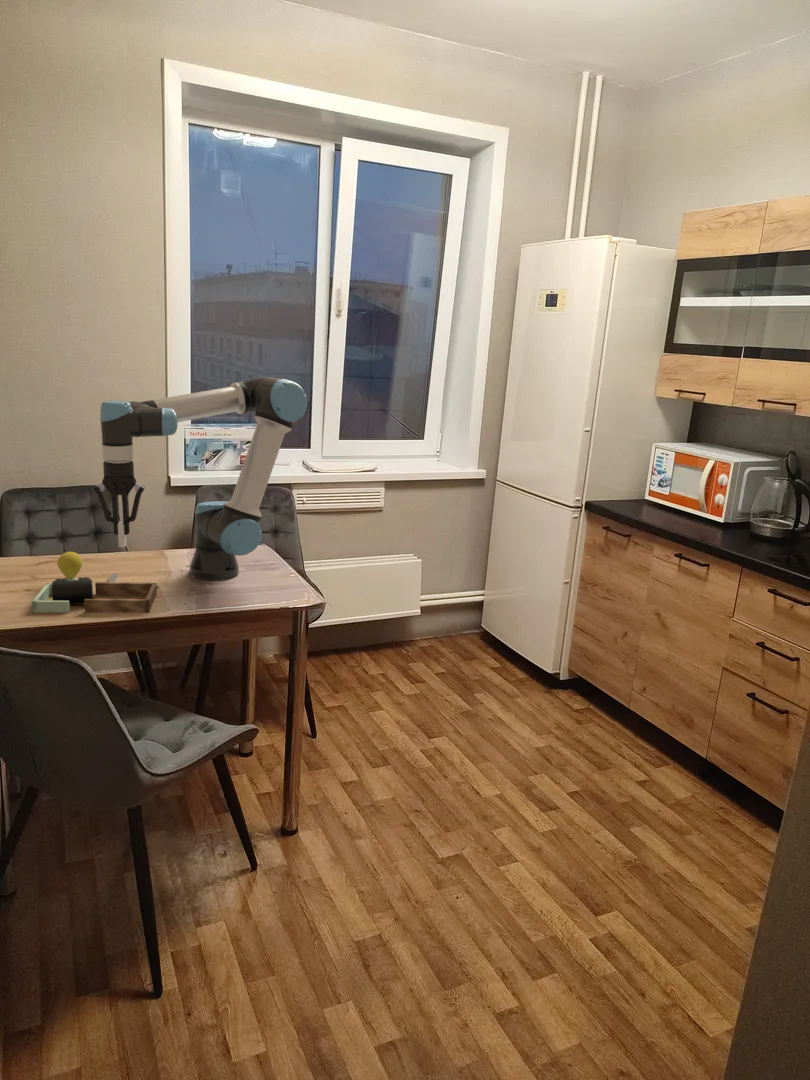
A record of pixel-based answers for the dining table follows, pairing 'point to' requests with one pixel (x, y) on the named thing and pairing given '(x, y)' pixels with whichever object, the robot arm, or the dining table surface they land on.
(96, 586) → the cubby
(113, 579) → the grey metal bar
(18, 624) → the dining table surface
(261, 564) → the dining table surface
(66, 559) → the light bulb
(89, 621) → the dining table surface
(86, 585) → the end cap
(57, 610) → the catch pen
